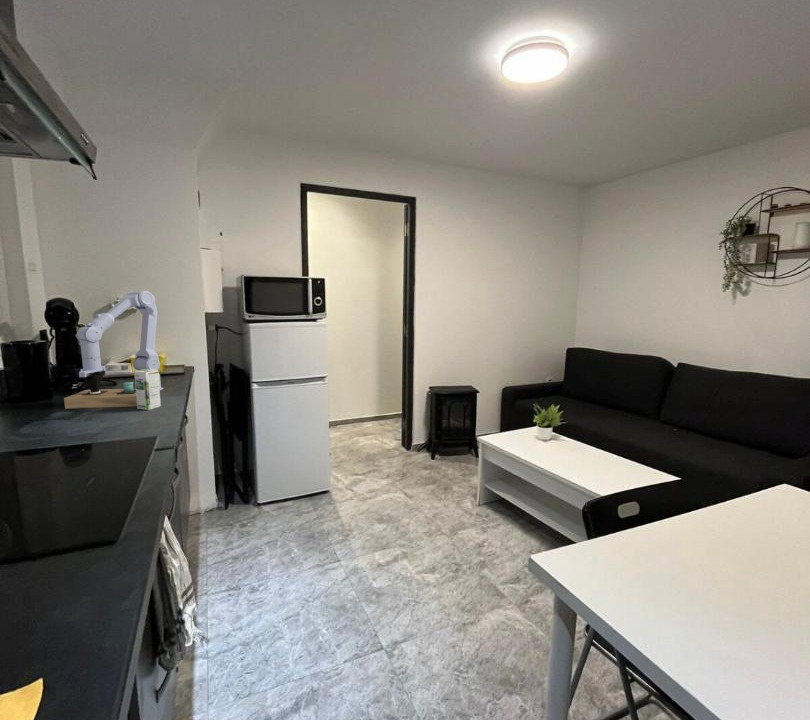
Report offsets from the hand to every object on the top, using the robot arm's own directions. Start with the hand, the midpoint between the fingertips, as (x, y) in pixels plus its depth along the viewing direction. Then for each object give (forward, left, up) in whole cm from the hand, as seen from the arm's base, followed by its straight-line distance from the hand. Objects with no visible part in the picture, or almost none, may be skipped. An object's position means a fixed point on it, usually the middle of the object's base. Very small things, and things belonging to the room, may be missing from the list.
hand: (95, 391), depth 161 cm
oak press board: (0, +6, -5) cm, 8 cm away
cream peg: (0, 0, -4) cm, 4 cm away
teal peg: (0, +12, -1) cm, 12 cm away
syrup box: (+10, +23, -5) cm, 26 cm away
